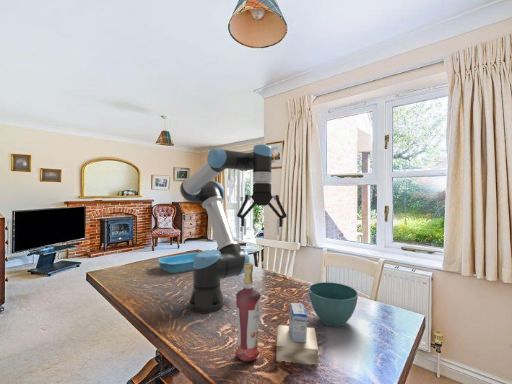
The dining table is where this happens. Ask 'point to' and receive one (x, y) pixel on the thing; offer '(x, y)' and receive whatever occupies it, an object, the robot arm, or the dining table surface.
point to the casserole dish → (177, 263)
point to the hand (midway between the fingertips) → (261, 234)
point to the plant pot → (333, 302)
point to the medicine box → (298, 322)
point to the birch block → (296, 347)
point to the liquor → (247, 317)
